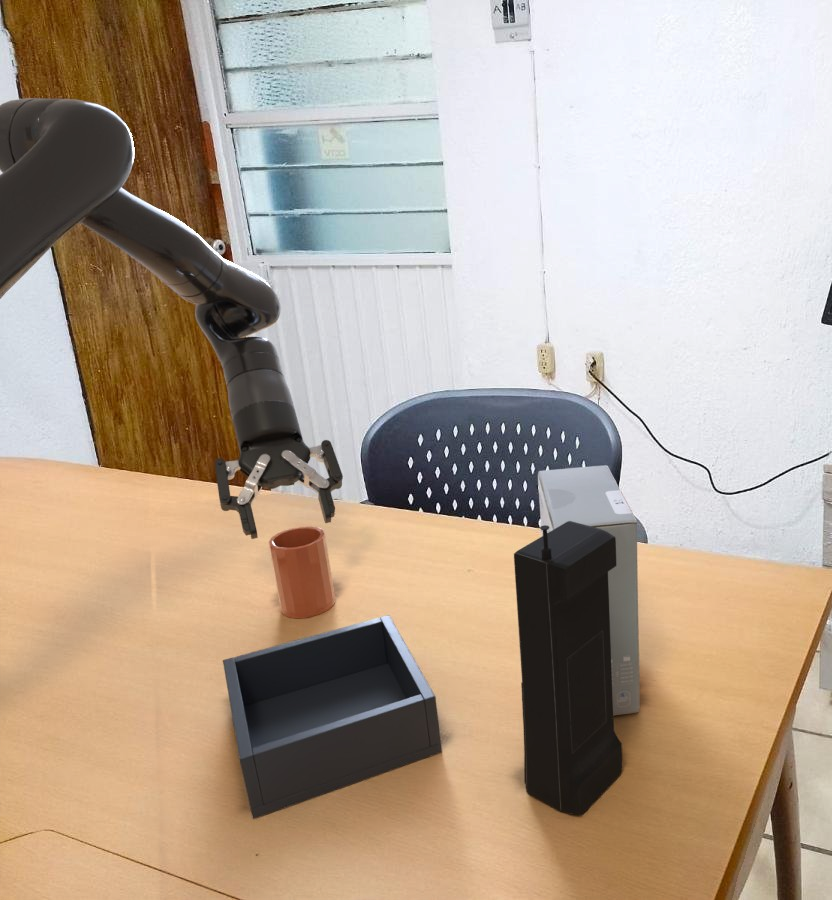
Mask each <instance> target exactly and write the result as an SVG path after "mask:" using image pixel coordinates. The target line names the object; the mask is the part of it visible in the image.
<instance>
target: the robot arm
mask: <svg viewBox="0 0 832 900" xmlns="http://www.w3.org/2000/svg"><path fill="white" fill-rule="evenodd" d="M132 136H133V135H132V133H131V132H130V129H129V127H128V125H127V124H126V123H125V121H124V120H123V118H121V117H120V116H118V115H117V114H116V112H114V111H112V110H111V109H109V108H108V107H105V106H104V105H101V104H98V103H95V102H93V101H86V100H81V99H74V98H43V97H41V98H40V97H28V98H27V97H26V98H17V99H12V100H9V101H5V102H3V103H1V104H0V172H1V173H0V300H1V299H2V298H3V297H4V296H5V294H6V293H7V292H8V291H9V290H10V289H11V288H13V286H14V285H15V284H17V282H18V281H20V279H21V278H22V277H23V276H25V275H26V274H27V272H29V270H31V268H33V266H35V264H36V263H38V262H39V261H40V259H41V258H42V257H43V256H44V255H45V254H46V253H47V252H48V251H49V250H50V249H51V248H52V247H54V245H55V244H57V242H58V241H59V240H61V239H62V237H64V236H65V235H66V234H67V233H68V232H70V231H71V230H72V229H73V228H75V227H76V226H77V225H78V224H79V223H80V224H81V225H83V226H85V227H86V228H88V229H89V230H91V231H93V232H94V233H96V234H97V235H99V236H100V237H102V238H104V239H105V240H107V242H109V243H111V244H112V245H113V246H115V247H116V248H118V249H120V250H121V251H123V252H124V253H125V254H126V255H128V256H129V257H131V258H132V259H134V260H135V261H136V262H137V263H139V264H140V265H141V266H143V267H144V268H145V269H147V270H148V271H149V272H150V273H152V274H153V275H154V276H155V277H156V278H158V279H159V281H161V282H162V283H163V284H165V285H166V286H167V287H168V288H169V289H170V290H172V292H174V293H175V294H177V295H178V296H179V297H180V298H181V299H183V300H185V301H186V302H188V303H190V304H193V305H195V309H194V317H195V320H196V323H197V324H198V326H199V329H201V331H202V332H203V334H204V336H205V337H206V338H207V340H208V342H209V344H210V345H211V346H212V348H213V351H214V353H215V354H216V357H217V358H218V360H219V362H220V365H221V367H222V372H223V376H224V380H225V384H226V389H227V397H228V407H229V410H230V419H231V421H232V424H233V429H234V433H235V438H236V441H237V446H238V449H239V450H238V451H239V457H238V459H236V460H228V461H227V460H225V459H224V458H220V457H219V458H216V459H215V460H214V469H215V477H216V483H217V493H218V498H219V503H220V509H221V510H222V511H223V512H228V511H236V512H237V513H238V515H239V519H240V523H241V527H242V532H243V534H244V535H245V536H250V539H251V540H254V539H258V530H257V525H256V522H255V517H254V512H253V509H252V505H253V503H254V501H255V499H257V497H258V496H259V495H260V492H261V490H262V489H263V488H264V489H267V490H274V489H277V488H279V487H283V486H284V487H288V486H290V487H291V486H295V483H300V484H301V485H303V486H304V487H305V488H308V489H311V490H312V491H314V492H315V493H316V494H318V495H317V496H318V497H317V498H318V502H319V506H320V510H321V514H322V518H323V522H324V524H328V523H332V518H335V514H336V506H335V503H334V499H333V496H332V492H333V491H334V490H339V489H341V488H342V486H343V478H344V476H343V472H342V470H341V466H340V464H339V461H338V459H337V456H336V453H335V451H334V447H333V445H332V444H333V443H332V441H331V440H329V439H324V440H322V441H321V444H317V445H313V446H308V445H307V444H306V443H305V442H304V439H303V434H302V431H301V428H300V424H299V423H300V422H299V420H298V417H297V412H296V409H295V405H294V401H293V398H292V393H291V391H290V388H289V386H288V384H287V382H286V378H285V375H284V372H283V368H282V364H281V360H280V356H279V353H278V350H277V348H276V345H274V343H273V342H271V341H270V340H269V339H267V338H264V337H259V336H251V335H253V334H255V333H257V332H261V331H262V330H265V329H267V328H269V327H271V326H273V325H274V324H276V323H277V321H279V318H280V317H281V308H282V307H281V302H280V298H279V297H278V294H277V293H276V291H275V290H274V288H273V287H272V286H271V285H270V284H269V283H268V282H266V280H265V279H263V278H262V277H260V276H259V275H257V274H255V273H253V272H252V271H249V270H247V269H246V268H243V267H241V266H239V265H238V264H235V263H234V262H232V261H229V260H227V259H225V258H223V257H222V256H221V255H220V254H219V253H218V252H217V251H216V250H214V249H213V248H212V246H211V245H209V244H208V243H207V242H206V241H205V240H204V239H203V238H202V237H201V236H200V235H199V234H198V233H196V231H194V230H193V229H192V228H190V227H189V226H187V225H186V224H185V223H184V222H182V221H180V220H179V219H178V218H176V217H174V216H172V215H170V214H169V213H167V212H165V211H163V210H161V209H159V208H157V207H155V206H153V205H152V204H150V203H148V202H146V201H145V200H143V199H141V198H140V197H138V196H136V195H134V194H133V193H131V192H129V191H128V190H126V189H125V188H123V186H124V184H125V183H126V182H127V180H128V178H129V176H130V174H131V172H132V168H133V164H134V159H135V147H134V141H133V137H132ZM311 458H315V459H316V460H317V462H319V463H323V464H324V467H325V470H326V472H327V476H328V478H325V477H324V476H322V475H321V474H320V473H318V472H317V470H315V468H313V467H312V466H311V465H309V462H310V460H311ZM238 471H240V472H241V473H242V474H243V475H245V477H247V478H246V480H245V483H244V486H243V488H242V489H241V491H240V492H239V494H238V496H237V495H236V496H235V495H231V491H230V483H229V481H230V480H234V478H235V474H236V472H238Z"/></svg>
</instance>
